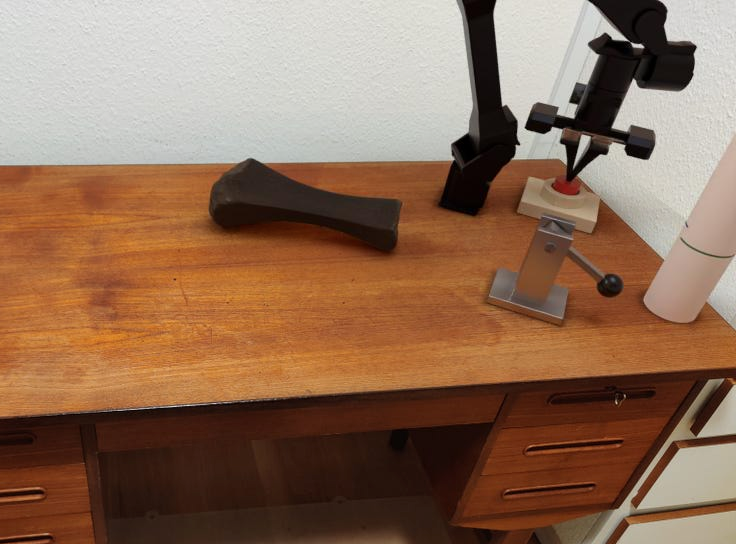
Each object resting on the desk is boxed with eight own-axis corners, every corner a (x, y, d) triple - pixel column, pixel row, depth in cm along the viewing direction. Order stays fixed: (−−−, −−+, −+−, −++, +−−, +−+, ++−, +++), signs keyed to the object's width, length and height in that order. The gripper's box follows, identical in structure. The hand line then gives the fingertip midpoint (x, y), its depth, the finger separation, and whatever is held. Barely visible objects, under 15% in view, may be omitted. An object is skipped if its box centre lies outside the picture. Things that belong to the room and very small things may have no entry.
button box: (516, 212, 119) (524, 191, 117) (524, 187, 127) (532, 166, 124) (591, 233, 117) (601, 212, 114) (595, 206, 124) (605, 185, 121)
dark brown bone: (203, 232, 110) (381, 281, 110) (205, 195, 100) (401, 249, 101) (221, 173, 114) (393, 220, 114) (226, 132, 104) (414, 184, 104)
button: (551, 192, 118) (554, 182, 117) (553, 182, 121) (557, 172, 120) (576, 199, 117) (580, 189, 116) (578, 188, 120) (582, 179, 119)
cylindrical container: (693, 299, 105) (793, 136, 88) (699, 328, 100) (807, 160, 83) (641, 286, 106) (731, 123, 90) (645, 314, 101) (740, 146, 84)
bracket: (565, 294, 103) (599, 222, 95) (559, 325, 97) (595, 252, 89) (495, 273, 105) (523, 201, 98) (486, 302, 100) (514, 228, 92)
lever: (610, 293, 98) (629, 279, 95) (608, 306, 95) (628, 292, 93) (536, 233, 97) (555, 217, 95) (533, 244, 95) (552, 228, 92)
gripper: (674, 82, 111) (630, 175, 121) (551, 54, 115) (518, 146, 126) (674, 107, 103) (627, 204, 113) (542, 76, 108) (508, 172, 118)
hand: (568, 180), depth 118 cm, fingers closed
